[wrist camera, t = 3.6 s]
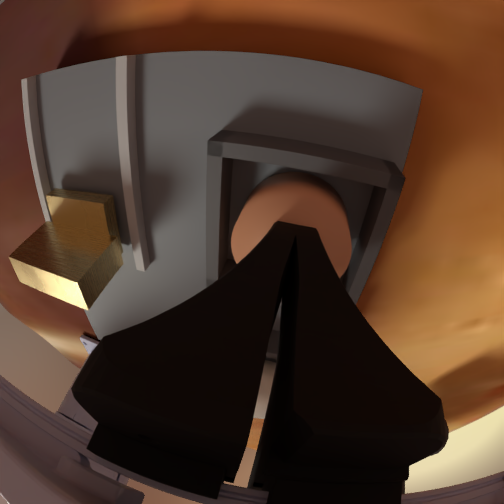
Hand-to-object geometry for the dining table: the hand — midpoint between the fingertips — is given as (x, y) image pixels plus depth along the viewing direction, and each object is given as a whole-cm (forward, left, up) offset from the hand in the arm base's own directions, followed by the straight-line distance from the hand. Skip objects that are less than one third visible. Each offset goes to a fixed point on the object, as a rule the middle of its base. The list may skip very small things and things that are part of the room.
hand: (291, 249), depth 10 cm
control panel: (-4, +5, -4) cm, 8 cm away
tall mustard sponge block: (-2, +10, -2) cm, 10 cm away
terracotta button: (0, 0, -2) cm, 2 cm away
